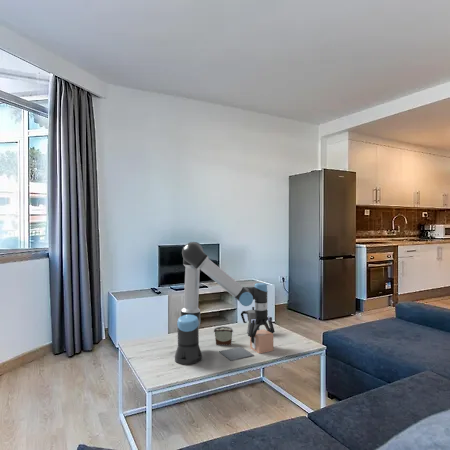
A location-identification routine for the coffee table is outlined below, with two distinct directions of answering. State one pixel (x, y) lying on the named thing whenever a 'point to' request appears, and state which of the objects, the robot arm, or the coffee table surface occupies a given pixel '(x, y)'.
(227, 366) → the coffee table surface
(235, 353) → the mat
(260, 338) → the salmon peach cube
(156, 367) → the coffee table surface
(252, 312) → the coffeepot
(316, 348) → the coffee table surface
